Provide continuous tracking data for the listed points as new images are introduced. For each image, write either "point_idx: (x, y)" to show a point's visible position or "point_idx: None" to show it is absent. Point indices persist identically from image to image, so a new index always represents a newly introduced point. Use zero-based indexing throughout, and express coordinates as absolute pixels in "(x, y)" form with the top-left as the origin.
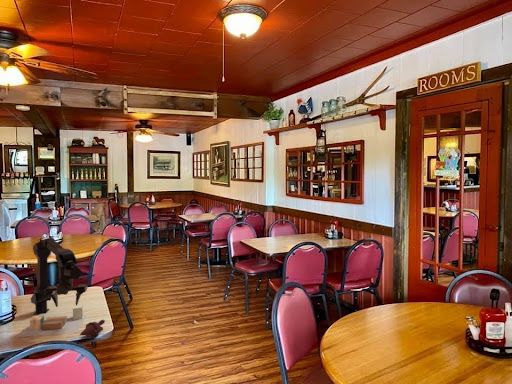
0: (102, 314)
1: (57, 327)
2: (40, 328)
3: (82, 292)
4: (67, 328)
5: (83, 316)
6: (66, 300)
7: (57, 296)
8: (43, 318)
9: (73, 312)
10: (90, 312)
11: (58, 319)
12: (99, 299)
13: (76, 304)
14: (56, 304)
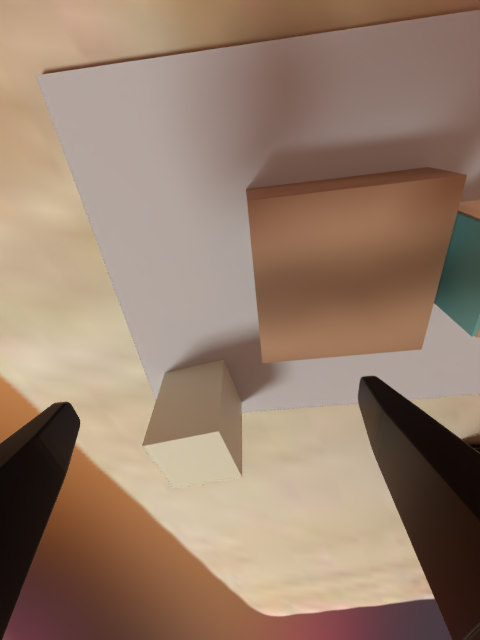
0: None
1: (283, 187)
2: None
3: None
4: (192, 195)
5: None
6: (353, 550)
7: (442, 614)
8: (462, 305)
9: (216, 402)
10: None
11: (310, 299)
12: (201, 551)
13: (47, 414)
14: (388, 404)
